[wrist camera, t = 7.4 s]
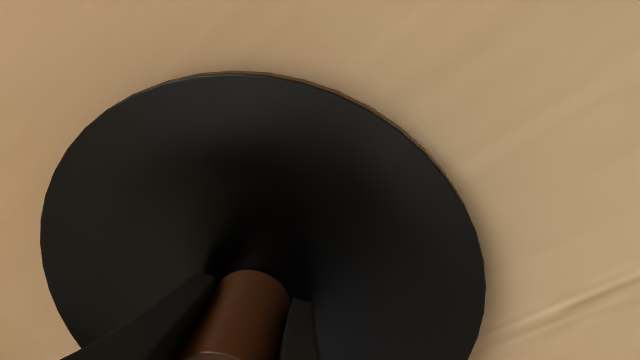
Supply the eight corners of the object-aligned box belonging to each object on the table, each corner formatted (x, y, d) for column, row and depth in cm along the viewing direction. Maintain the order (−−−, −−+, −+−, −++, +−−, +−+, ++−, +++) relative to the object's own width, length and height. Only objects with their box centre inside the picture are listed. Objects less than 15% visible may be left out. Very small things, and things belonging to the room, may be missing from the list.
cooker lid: (397, 460, 17) (406, 605, 13) (65, 370, 17) (-30, 485, 13) (558, 142, 11) (666, 219, 7) (58, 9, 11) (-117, 11, 7)
